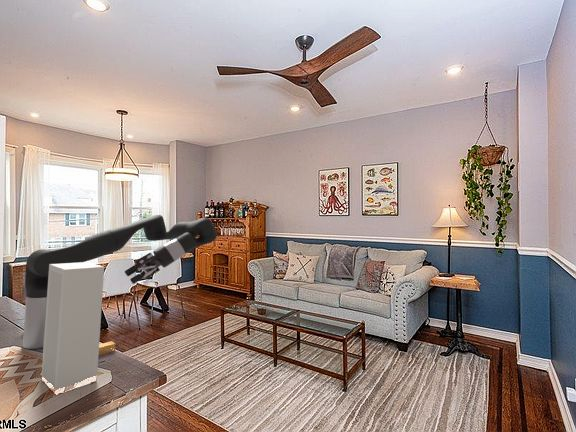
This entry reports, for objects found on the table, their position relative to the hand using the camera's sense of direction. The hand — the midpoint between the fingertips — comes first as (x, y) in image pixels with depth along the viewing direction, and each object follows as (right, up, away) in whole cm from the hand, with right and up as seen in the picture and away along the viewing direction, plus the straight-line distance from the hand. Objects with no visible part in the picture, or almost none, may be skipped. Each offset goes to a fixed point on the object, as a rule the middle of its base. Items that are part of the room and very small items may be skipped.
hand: (128, 278), depth 112 cm
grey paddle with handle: (-9, -24, -11) cm, 28 cm away
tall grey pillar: (-4, -24, -26) cm, 35 cm away
